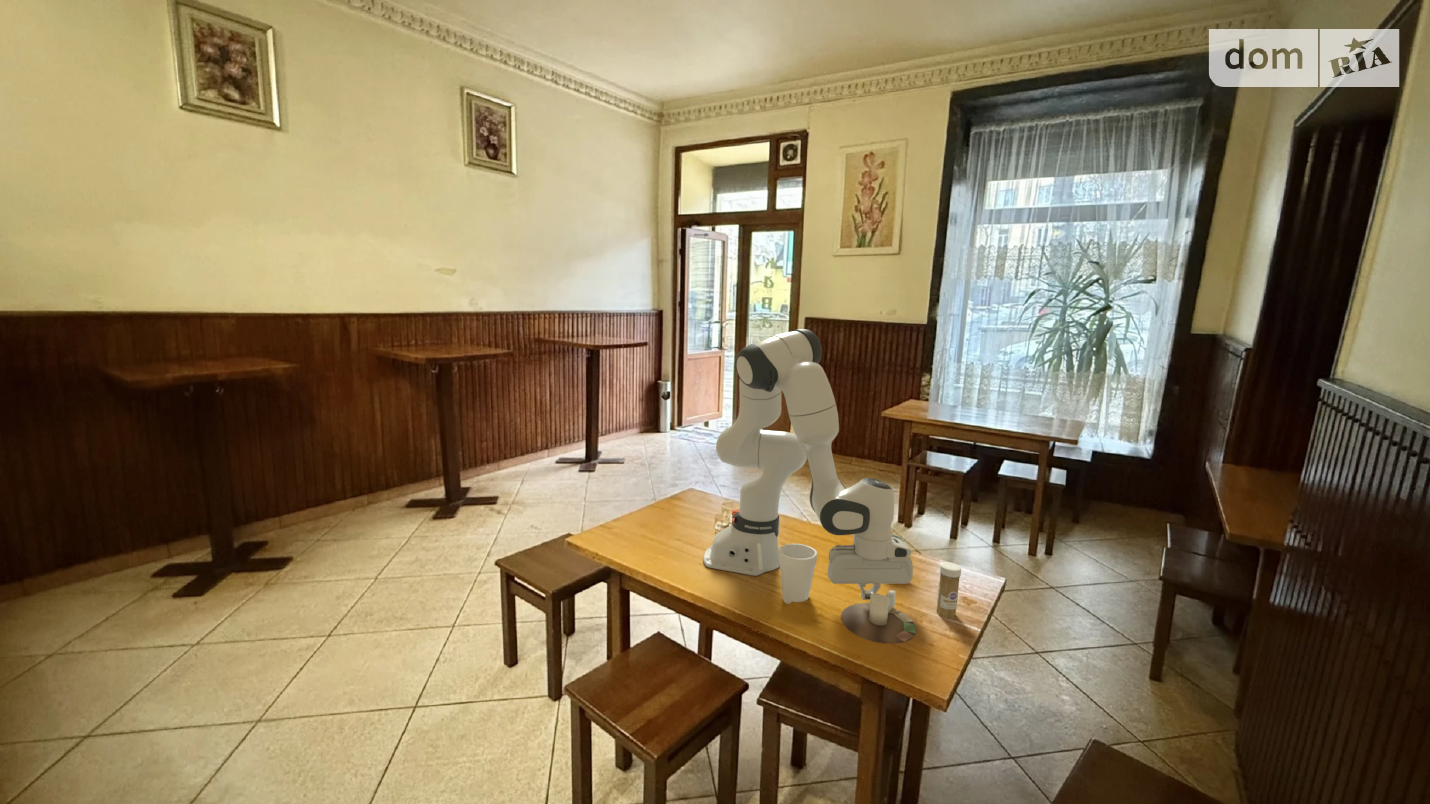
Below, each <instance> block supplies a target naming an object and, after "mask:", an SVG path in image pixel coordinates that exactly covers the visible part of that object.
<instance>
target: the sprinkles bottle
mask: <svg viewBox="0 0 1430 804" xmlns="http://www.w3.org/2000/svg"><path fill="white" fill-rule="evenodd" d="M939 574H940V575H939V583H938V588H937V589H938V590H937V598H936V605H937V606H936V614H937V615H938V616H940V617H941V618H944V619H954V618H956V614H957V613H956V612H957V606H958V598H959V587H960V586H959V585H960V578H961V576H962V575H961V574H962V568H961V566H960V565H958V564H956V563H953V562H947V561H946V562H941V564H940V567H939Z"/></svg>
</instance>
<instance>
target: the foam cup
mask: <svg viewBox="0 0 1430 804" xmlns="http://www.w3.org/2000/svg"><path fill="white" fill-rule="evenodd" d="M817 556H818V551H817V550H816V548H814V547H812V546H809V545H807V544H802V543H787V544H783V545H782V546H780V547H779V561H780V566H779V568H780V569H779V571H780V581H781V582H780V583H781V592H782V593H781V595H782V601H783V602H784V603H785V604H787V605H790V604H792V603H793V602H794V603H802V602H806V601H807V600H808V599H809V597H810V593H811V588H812V582H813V578H814V573H815V568H816V564H817V561H818V560H817V559H818V557H817Z"/></svg>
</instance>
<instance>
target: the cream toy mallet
mask: <svg viewBox="0 0 1430 804" xmlns="http://www.w3.org/2000/svg"><path fill="white" fill-rule="evenodd" d="M896 596H897V591H895V590H892V589H891V590H889V591H888V592H887V594H886V595H883V594H879V593H878V592H876V593H874V592H873V593H872V594H871V595H870V600H869V603H871V605H870V617H869V620H870V622H871V623H873V624H875V625H879V626H883V625H886V624H887V618H888V613H889V612H890V610H891V609H892V608H895V607H896V601H897V600H896V599H897V597H896Z"/></svg>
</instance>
